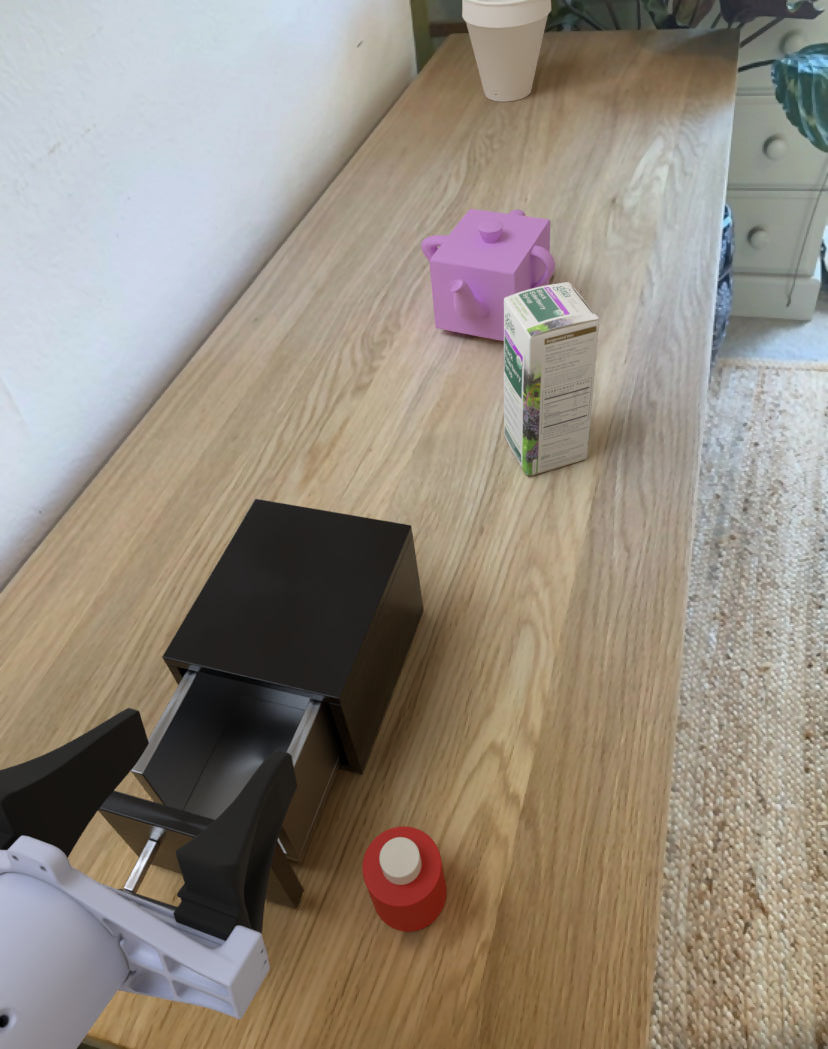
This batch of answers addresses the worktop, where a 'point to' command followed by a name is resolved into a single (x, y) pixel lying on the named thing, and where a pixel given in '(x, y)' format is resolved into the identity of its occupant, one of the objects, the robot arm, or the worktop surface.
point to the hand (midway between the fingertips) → (209, 746)
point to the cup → (506, 43)
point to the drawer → (225, 773)
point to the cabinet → (310, 614)
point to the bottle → (405, 878)
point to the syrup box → (548, 376)
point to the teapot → (486, 268)
